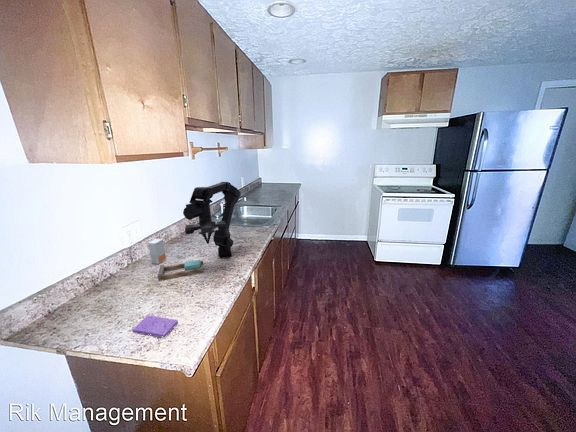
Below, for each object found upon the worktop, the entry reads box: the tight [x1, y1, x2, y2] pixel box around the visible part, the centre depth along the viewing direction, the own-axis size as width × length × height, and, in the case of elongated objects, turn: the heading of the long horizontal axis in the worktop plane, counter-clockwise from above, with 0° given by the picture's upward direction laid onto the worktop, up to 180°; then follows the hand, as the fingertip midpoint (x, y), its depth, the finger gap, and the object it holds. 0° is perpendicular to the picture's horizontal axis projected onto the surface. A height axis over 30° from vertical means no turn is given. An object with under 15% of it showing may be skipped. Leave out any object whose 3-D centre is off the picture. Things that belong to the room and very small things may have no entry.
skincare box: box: [148, 238, 167, 265], centre depth 123 cm, size 6×4×12 cm
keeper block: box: [183, 259, 202, 271], centre depth 116 cm, size 7×5×4 cm
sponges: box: [132, 314, 178, 338], centre depth 80 cm, size 7×13×2 cm, turn 78°
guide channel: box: [157, 259, 205, 282], centre depth 114 cm, size 20×9×3 cm, turn 111°
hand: (208, 243), depth 116 cm, fingers closed
